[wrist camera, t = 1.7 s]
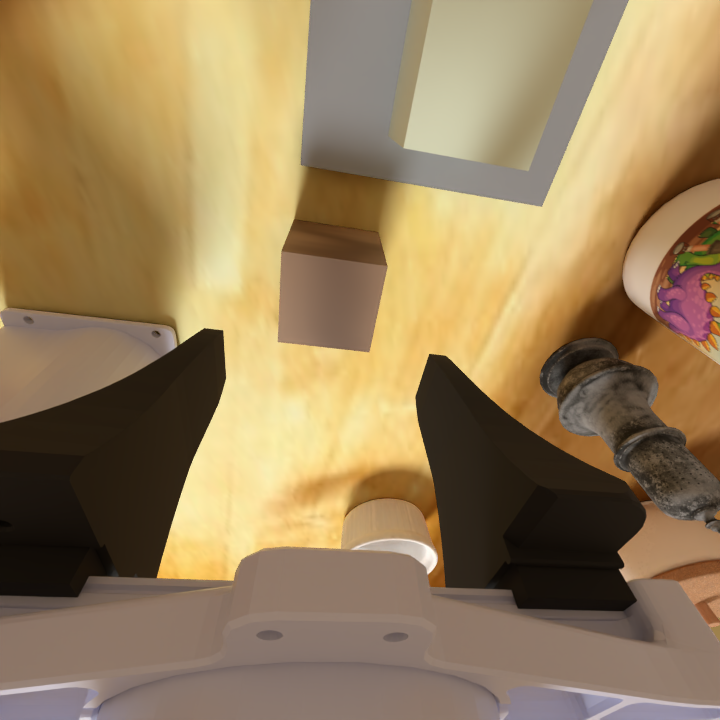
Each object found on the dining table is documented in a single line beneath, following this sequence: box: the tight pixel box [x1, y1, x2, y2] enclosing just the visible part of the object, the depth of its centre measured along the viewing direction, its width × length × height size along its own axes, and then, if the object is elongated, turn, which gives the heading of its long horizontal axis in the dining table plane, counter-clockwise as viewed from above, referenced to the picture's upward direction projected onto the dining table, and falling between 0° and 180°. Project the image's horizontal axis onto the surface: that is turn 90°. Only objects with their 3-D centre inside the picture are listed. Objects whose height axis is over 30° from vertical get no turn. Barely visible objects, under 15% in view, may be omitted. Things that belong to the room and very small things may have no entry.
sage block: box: [388, 0, 593, 171], centre depth 13 cm, size 4×4×5 cm
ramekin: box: [341, 498, 438, 574], centre depth 34 cm, size 9×9×4 cm
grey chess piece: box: [540, 338, 720, 534], centre depth 21 cm, size 6×6×12 cm
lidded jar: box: [618, 501, 720, 627], centre depth 34 cm, size 11×11×9 cm
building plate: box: [301, 0, 629, 207], centre depth 16 cm, size 12×8×1 cm, turn 81°
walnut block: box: [278, 220, 387, 352], centre depth 19 cm, size 4×4×5 cm
